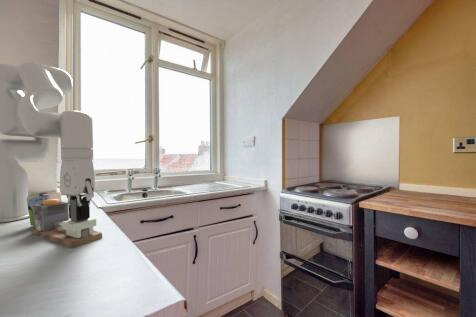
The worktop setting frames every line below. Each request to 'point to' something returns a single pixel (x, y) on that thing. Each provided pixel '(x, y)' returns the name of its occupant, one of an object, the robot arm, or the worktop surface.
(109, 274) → the worktop surface
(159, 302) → the worktop surface
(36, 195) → the beverage can
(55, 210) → the rail bench
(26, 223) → the worktop surface
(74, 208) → the carriage
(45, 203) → the plunger
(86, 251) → the worktop surface
